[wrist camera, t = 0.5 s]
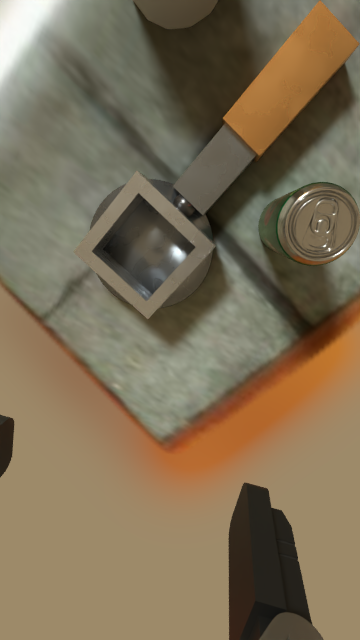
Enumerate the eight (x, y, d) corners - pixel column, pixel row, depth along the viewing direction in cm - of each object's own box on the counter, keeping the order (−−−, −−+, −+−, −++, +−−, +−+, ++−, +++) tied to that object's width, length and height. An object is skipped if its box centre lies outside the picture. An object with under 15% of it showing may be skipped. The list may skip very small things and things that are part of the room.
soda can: (253, 248, 32) (270, 261, 21) (263, 193, 31) (289, 174, 20) (306, 256, 32) (353, 273, 21) (319, 200, 31) (378, 185, 19)
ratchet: (275, -14, 27) (286, -59, 23) (377, 97, 28) (405, 74, 24) (71, 249, 35) (49, 252, 30) (158, 327, 36) (149, 342, 31)
